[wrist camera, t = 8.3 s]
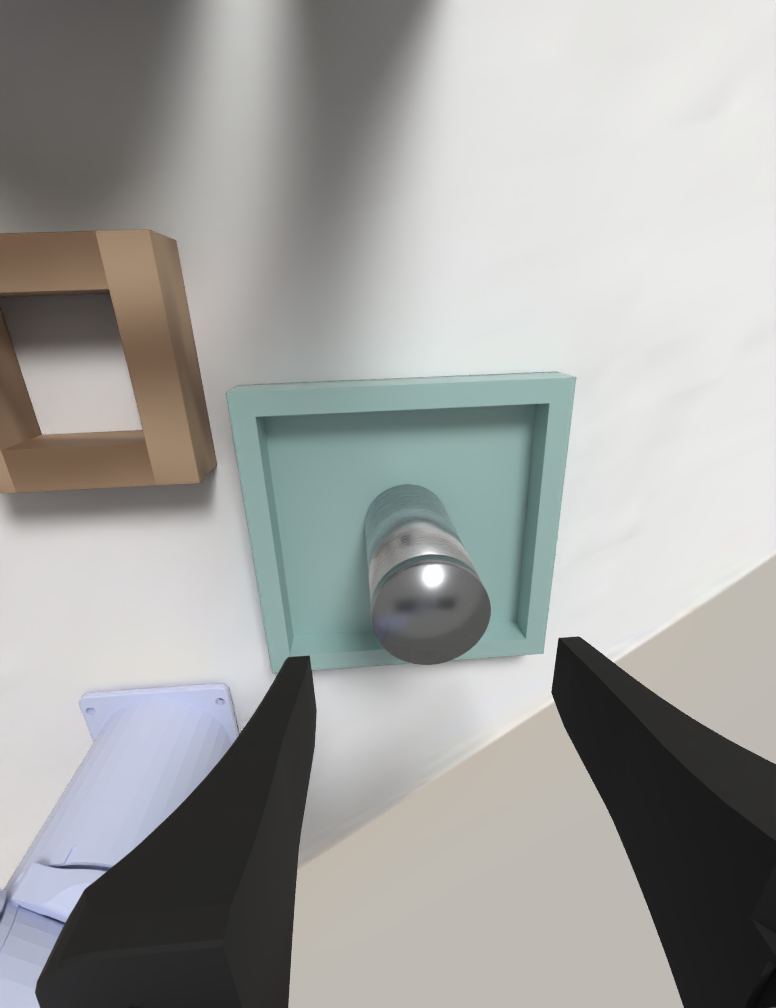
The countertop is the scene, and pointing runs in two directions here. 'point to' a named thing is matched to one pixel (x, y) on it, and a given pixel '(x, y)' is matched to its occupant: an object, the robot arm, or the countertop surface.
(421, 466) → the tray
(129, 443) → the socket block
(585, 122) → the countertop surface
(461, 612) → the steel pin
